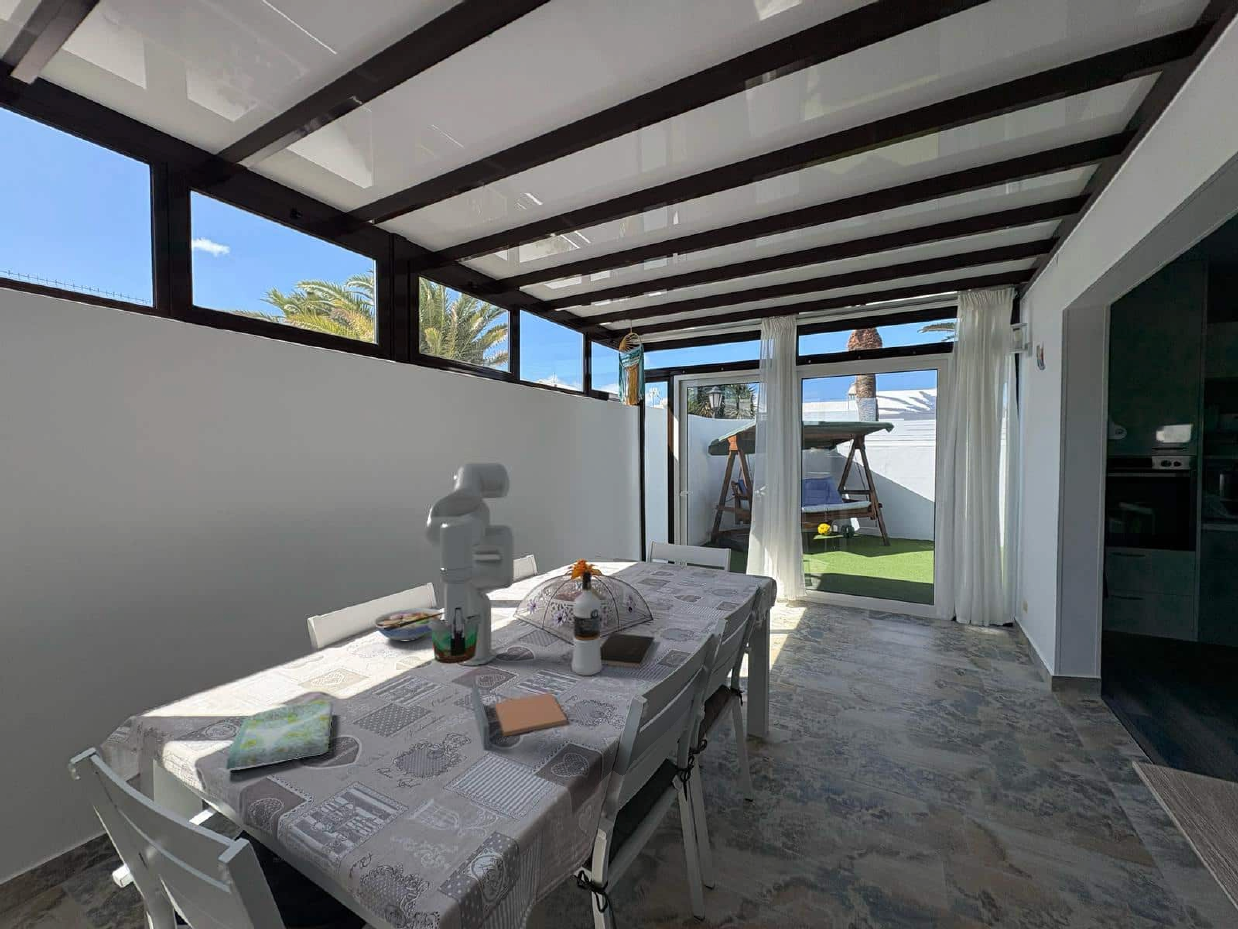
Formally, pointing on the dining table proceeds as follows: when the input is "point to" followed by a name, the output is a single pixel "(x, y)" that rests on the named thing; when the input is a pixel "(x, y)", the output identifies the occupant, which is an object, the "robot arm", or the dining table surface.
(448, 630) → the food container
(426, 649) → the dining table surface
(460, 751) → the dining table surface
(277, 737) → the towel
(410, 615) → the ramen bowl
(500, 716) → the mat
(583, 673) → the vodka
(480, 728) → the acrylic wall
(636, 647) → the hardcover book
